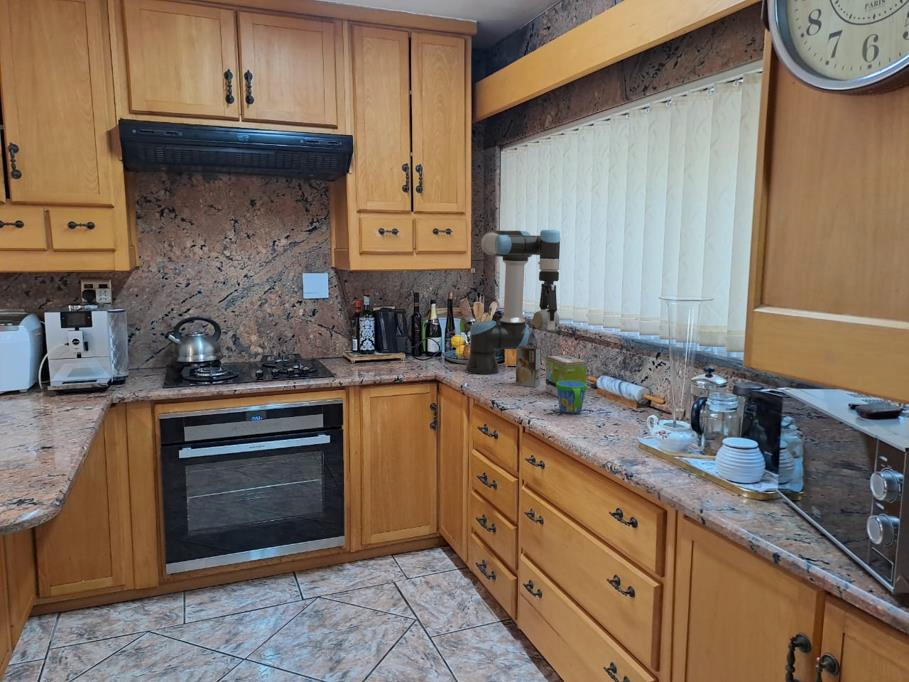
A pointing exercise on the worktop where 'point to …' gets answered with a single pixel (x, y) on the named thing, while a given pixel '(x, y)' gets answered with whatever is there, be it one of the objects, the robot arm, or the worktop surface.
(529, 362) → the coffee box
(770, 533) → the worktop surface
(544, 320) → the ceramic mug
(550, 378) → the tea box
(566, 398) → the snack cup
